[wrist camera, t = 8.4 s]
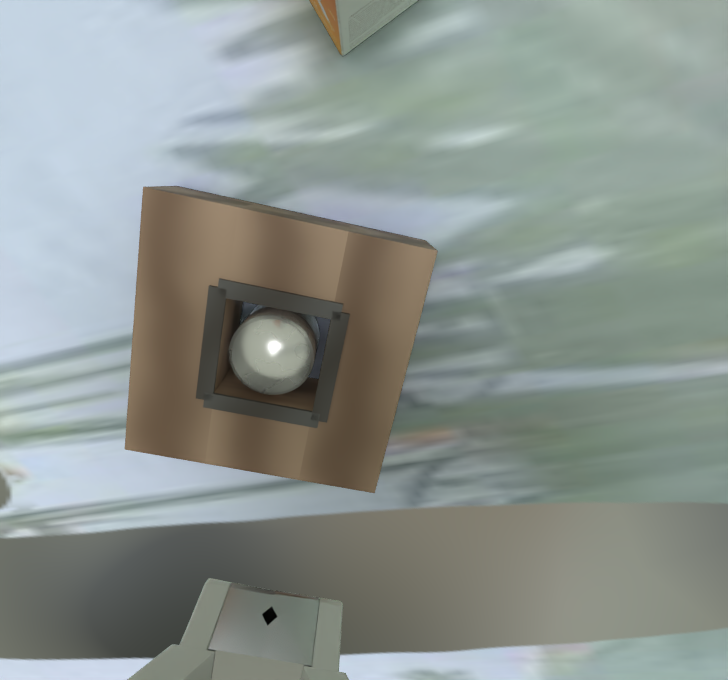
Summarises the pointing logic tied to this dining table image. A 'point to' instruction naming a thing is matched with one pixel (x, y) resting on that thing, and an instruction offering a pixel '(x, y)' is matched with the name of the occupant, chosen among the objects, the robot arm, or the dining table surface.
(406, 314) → the socket block
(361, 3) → the small box
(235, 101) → the dining table surface
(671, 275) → the dining table surface
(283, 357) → the peg
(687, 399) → the dining table surface
